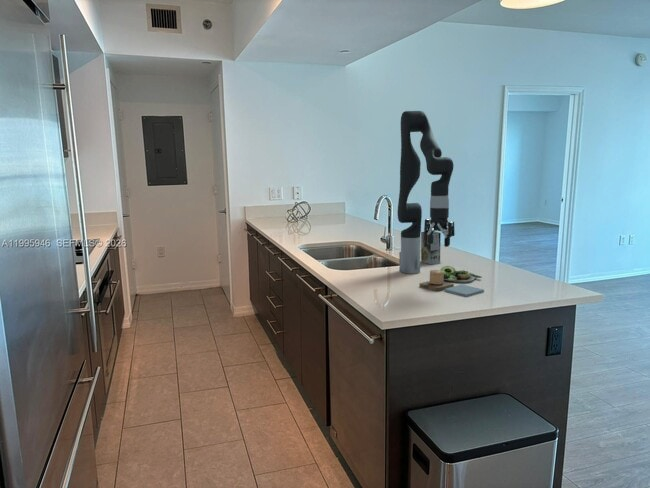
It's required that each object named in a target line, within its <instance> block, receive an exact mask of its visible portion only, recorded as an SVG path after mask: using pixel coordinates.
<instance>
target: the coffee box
mask: <svg viewBox="0 0 650 488" xmlns="http://www.w3.org/2000/svg"><path fill="white" fill-rule="evenodd" d="M441 234H442V232H440V231H435V232H434V233H433V234H432V235H433V244H429V242H428V234H427V233H424V231H421V233H420V263H421V262H422V263H425V264H427V265H428V264H429V265H437V264H441Z"/></svg>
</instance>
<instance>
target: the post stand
mask: <svg viewBox="0 0 650 488" xmlns="http://www.w3.org/2000/svg"><path fill="white" fill-rule="evenodd" d="M454 285H455V283H453V282H444V283H443V284H431V283H430V280H426V281H424V282H420V283H419V288H423V289H427V290H430V291H434V292H441V291H445V289H446V288H450V287H454Z"/></svg>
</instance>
